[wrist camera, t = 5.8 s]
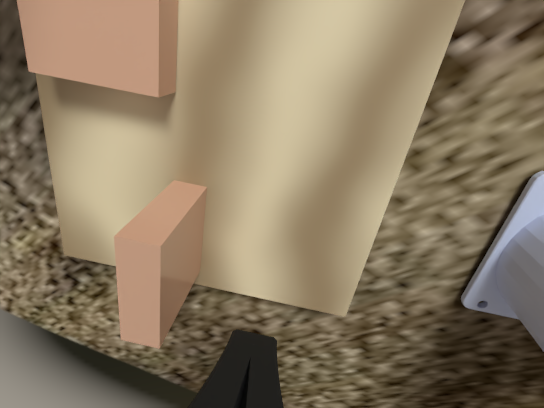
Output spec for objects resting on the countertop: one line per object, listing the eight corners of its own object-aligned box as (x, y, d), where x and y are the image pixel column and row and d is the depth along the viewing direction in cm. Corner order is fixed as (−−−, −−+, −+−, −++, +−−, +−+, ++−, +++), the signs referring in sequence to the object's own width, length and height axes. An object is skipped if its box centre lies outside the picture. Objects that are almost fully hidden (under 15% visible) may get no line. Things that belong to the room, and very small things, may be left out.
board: (461, -34, 12) (481, -45, 10) (343, 296, 19) (345, 316, 17) (40, -109, 12) (2, -130, 11) (82, 239, 19) (64, 255, 18)
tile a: (159, -76, 9) (-1, -106, 10) (158, 97, 12) (28, 71, 12) (180, -60, 11) (41, -85, 11) (176, 91, 13) (60, 69, 13)
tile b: (207, 187, 15) (160, 246, 10) (200, 270, 17) (159, 348, 13) (172, 179, 15) (112, 235, 11) (170, 264, 17) (119, 339, 13)
